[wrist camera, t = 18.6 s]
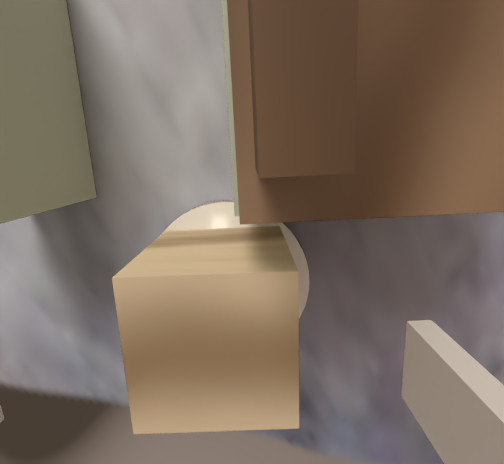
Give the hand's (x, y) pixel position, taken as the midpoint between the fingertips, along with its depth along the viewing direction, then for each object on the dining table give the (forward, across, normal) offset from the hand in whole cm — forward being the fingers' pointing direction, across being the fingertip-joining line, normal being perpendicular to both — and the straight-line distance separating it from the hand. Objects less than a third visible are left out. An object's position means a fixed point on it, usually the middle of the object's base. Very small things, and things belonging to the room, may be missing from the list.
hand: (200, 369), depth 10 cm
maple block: (+8, 0, 0) cm, 8 cm away
